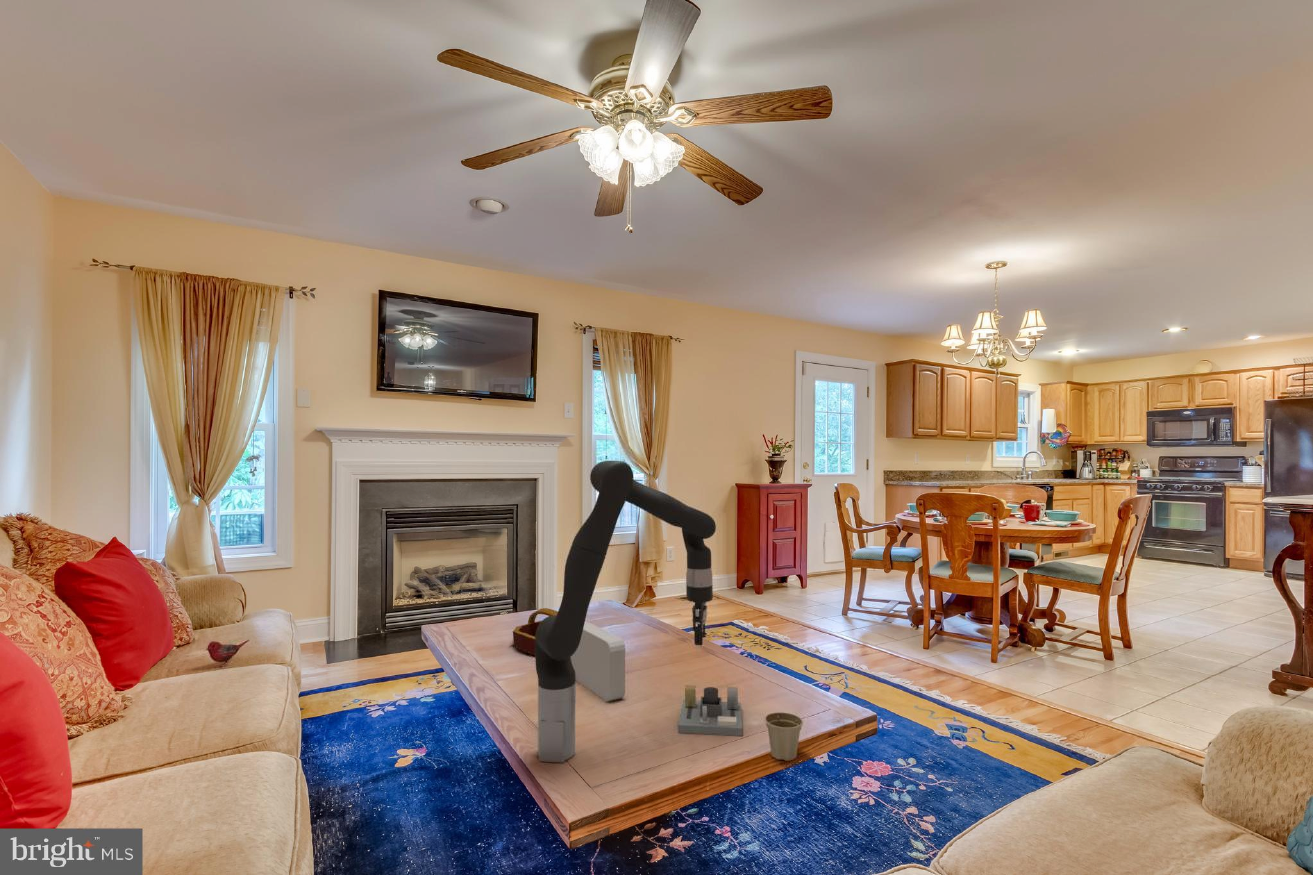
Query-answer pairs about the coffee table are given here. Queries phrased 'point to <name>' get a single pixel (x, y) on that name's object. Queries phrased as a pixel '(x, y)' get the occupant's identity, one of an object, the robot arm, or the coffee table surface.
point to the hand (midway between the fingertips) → (700, 640)
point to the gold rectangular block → (690, 696)
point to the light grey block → (732, 697)
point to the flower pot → (783, 734)
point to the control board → (710, 719)
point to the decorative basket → (529, 631)
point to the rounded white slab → (600, 662)
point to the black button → (710, 695)
